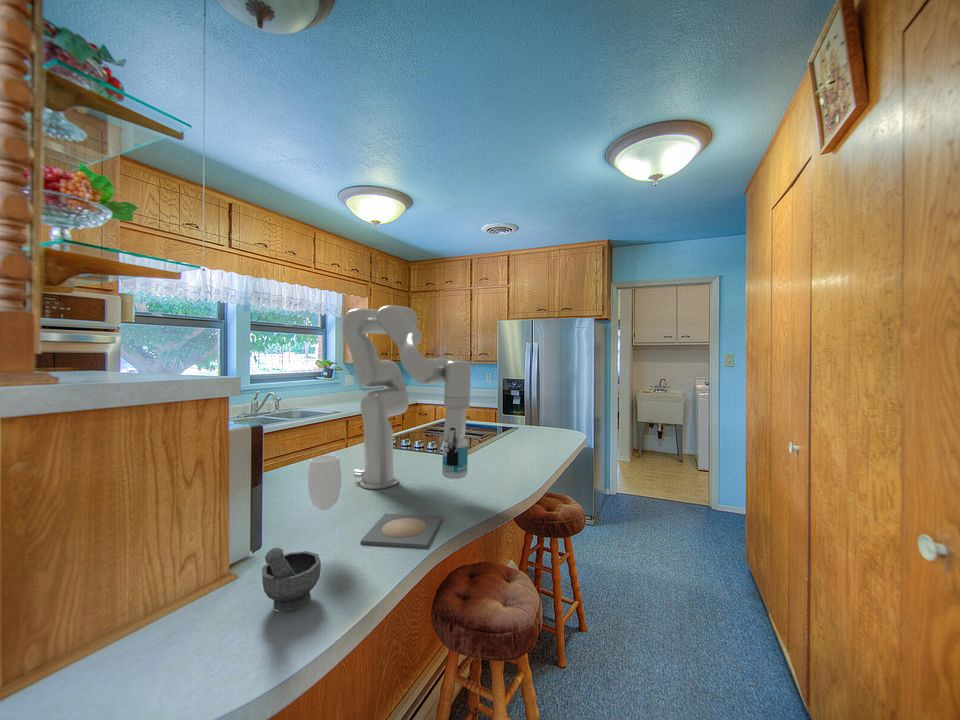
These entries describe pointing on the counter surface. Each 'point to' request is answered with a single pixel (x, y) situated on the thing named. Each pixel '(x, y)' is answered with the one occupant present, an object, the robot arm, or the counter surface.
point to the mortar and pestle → (290, 578)
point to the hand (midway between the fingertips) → (455, 460)
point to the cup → (324, 481)
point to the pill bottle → (461, 468)
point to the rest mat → (403, 530)
